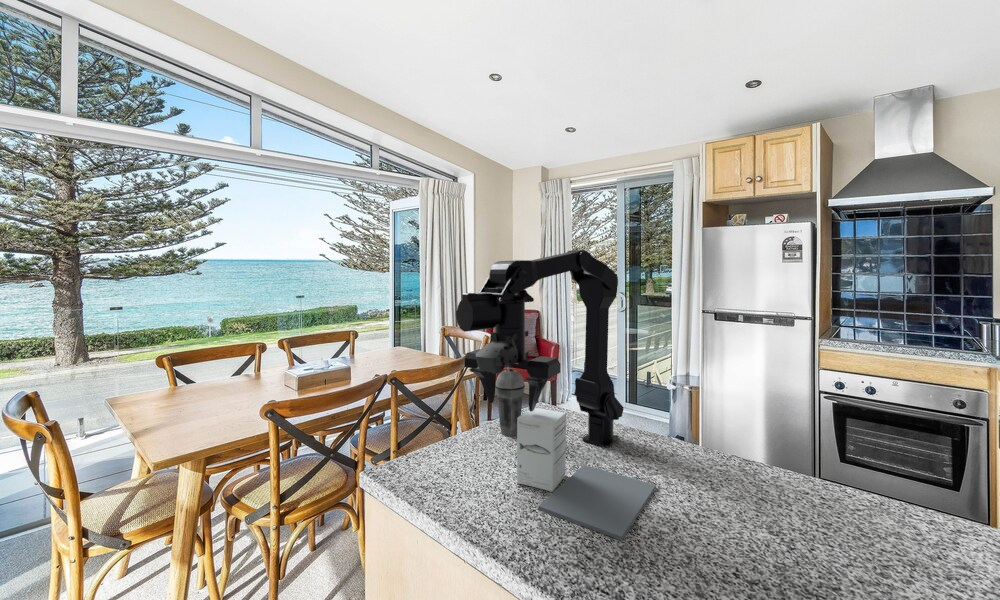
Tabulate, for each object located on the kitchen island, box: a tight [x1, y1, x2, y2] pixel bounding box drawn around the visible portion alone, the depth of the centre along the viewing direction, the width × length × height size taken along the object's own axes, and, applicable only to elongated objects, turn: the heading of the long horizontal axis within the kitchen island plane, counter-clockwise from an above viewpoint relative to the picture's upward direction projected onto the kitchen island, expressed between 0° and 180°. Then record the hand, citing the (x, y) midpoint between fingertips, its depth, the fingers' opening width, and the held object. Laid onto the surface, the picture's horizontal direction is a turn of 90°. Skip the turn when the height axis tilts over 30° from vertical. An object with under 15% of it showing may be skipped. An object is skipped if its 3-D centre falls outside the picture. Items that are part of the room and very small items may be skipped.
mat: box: [537, 464, 657, 541], centre depth 72 cm, size 18×14×1 cm
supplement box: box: [516, 407, 567, 493], centre depth 78 cm, size 7×7×13 cm
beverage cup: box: [495, 367, 526, 437], centre depth 102 cm, size 7×7×20 cm
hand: (510, 406), depth 81 cm, fingers open, 9 cm apart
